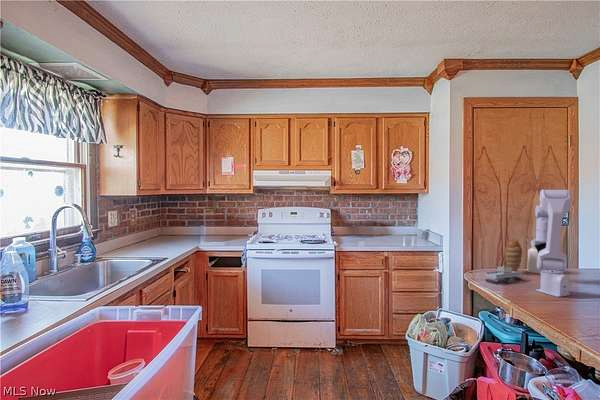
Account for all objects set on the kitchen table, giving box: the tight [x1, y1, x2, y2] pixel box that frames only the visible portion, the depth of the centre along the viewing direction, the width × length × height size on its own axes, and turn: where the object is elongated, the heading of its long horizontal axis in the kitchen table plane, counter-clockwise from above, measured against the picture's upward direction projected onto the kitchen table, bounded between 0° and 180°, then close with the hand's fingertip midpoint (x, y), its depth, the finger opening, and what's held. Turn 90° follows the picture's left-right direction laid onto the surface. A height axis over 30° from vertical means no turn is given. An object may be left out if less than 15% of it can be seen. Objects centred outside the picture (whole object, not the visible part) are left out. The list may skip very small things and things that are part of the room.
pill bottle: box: [526, 244, 541, 275], centre depth 180 cm, size 8×8×15 cm
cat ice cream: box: [504, 237, 523, 272], centre depth 178 cm, size 9×8×18 cm
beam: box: [484, 269, 524, 280], centre depth 163 cm, size 6×18×2 cm, turn 112°
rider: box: [496, 265, 511, 274], centre depth 163 cm, size 3×5×4 cm
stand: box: [485, 276, 523, 285], centre depth 163 cm, size 7×18×2 cm, turn 112°
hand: (542, 259), depth 164 cm, fingers closed
